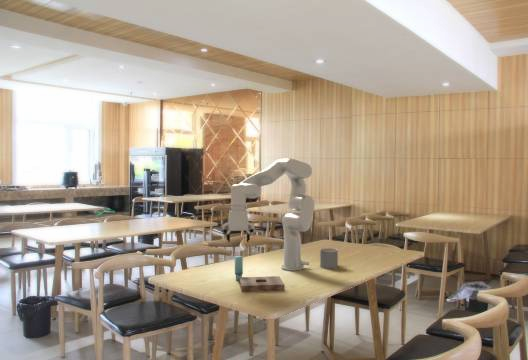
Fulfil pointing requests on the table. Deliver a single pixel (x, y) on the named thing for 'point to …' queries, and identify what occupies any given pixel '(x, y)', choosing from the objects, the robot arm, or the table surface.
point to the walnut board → (261, 284)
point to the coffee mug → (329, 258)
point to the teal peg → (238, 267)
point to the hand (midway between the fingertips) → (238, 241)
